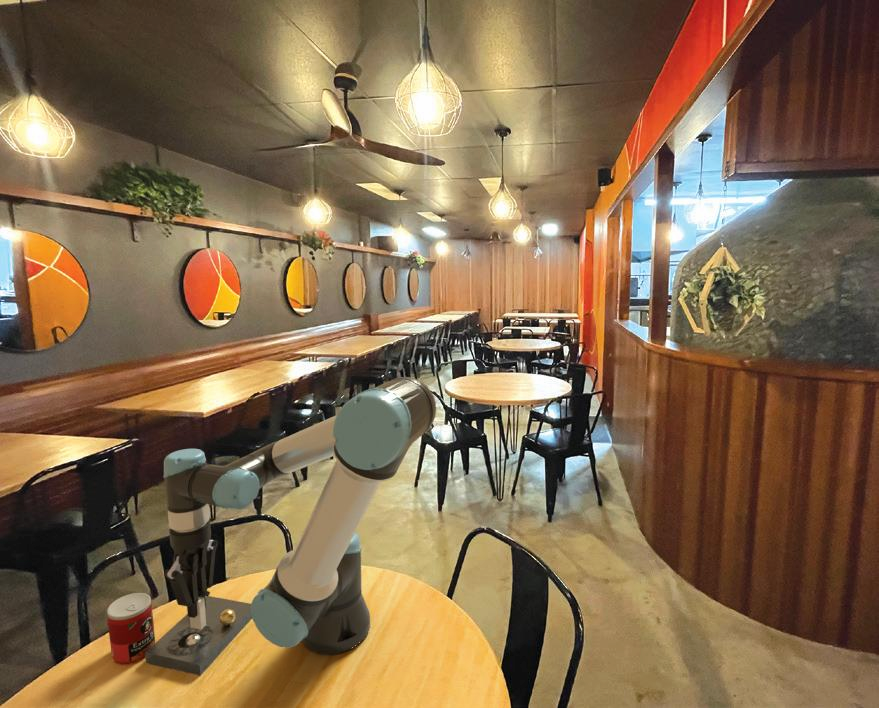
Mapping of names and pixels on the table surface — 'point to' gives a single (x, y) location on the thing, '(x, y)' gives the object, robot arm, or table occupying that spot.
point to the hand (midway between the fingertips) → (198, 626)
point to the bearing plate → (213, 637)
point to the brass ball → (227, 617)
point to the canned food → (130, 628)
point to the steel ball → (192, 640)
